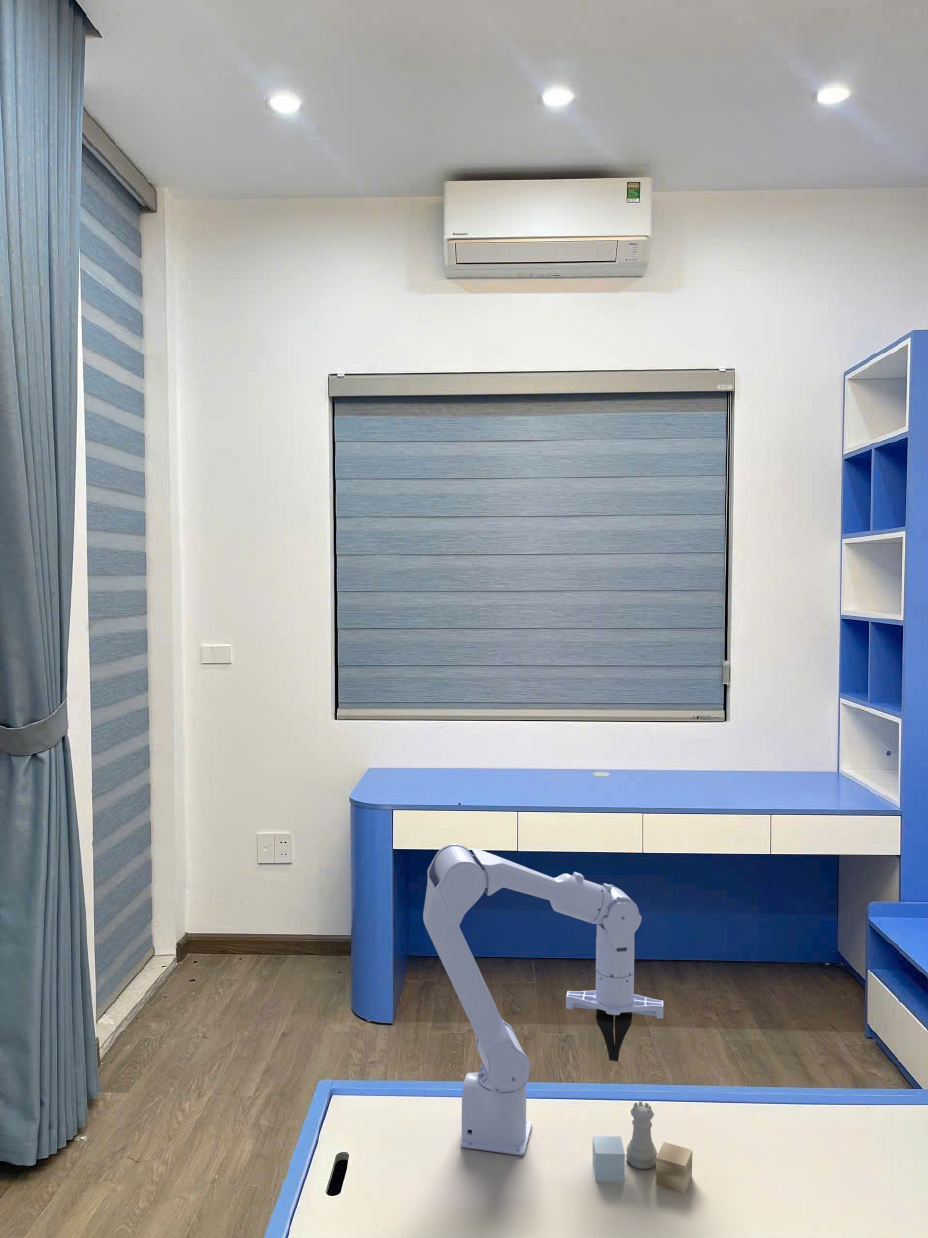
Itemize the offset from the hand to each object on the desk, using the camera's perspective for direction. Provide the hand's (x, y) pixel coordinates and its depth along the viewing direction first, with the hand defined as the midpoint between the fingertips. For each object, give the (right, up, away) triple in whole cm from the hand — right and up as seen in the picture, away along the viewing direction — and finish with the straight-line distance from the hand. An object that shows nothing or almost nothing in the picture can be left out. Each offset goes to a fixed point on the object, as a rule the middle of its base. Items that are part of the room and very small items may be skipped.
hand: (613, 1057), depth 140 cm
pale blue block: (-3, -11, -11) cm, 16 cm away
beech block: (+6, -11, -13) cm, 18 cm away
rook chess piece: (+3, -11, -8) cm, 14 cm away
